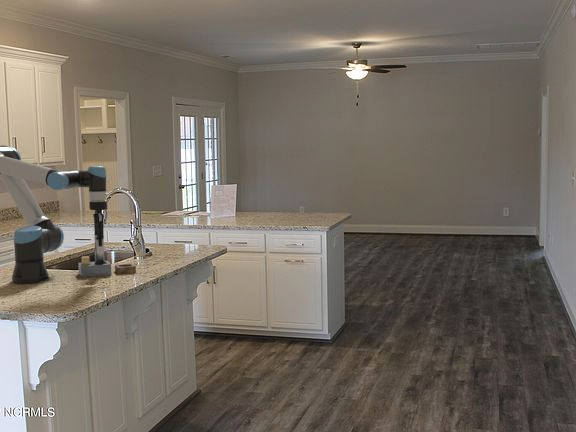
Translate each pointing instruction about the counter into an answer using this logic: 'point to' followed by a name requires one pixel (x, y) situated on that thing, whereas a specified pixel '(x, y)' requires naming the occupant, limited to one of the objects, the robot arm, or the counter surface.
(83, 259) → the tan rectangular block
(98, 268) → the chuck block
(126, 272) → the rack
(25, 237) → the robot arm
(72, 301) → the counter surface
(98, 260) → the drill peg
